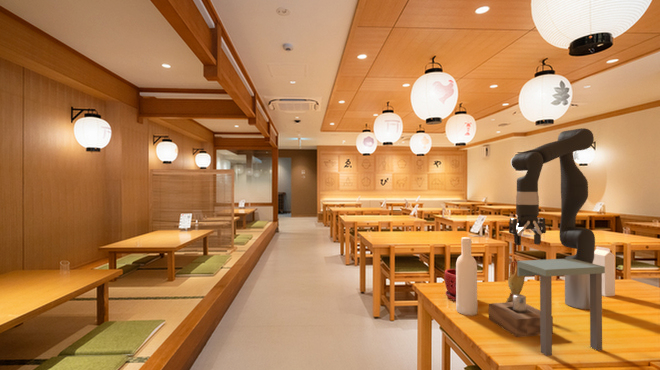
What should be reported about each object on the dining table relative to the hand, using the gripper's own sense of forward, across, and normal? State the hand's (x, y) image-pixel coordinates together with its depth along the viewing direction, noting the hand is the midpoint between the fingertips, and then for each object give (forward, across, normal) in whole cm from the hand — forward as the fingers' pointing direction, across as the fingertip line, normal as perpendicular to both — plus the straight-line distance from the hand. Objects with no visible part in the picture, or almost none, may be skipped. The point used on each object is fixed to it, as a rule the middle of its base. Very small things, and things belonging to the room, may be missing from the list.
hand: (527, 244), depth 119 cm
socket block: (+28, +10, +7) cm, 31 cm away
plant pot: (+28, +15, -22) cm, 39 cm away
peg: (+27, +10, +7) cm, 30 cm away
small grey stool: (+28, +7, +20) cm, 35 cm away
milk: (+28, -55, -16) cm, 64 cm away
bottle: (+28, +21, -8) cm, 36 cm away
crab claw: (+28, +1, -6) cm, 29 cm away
